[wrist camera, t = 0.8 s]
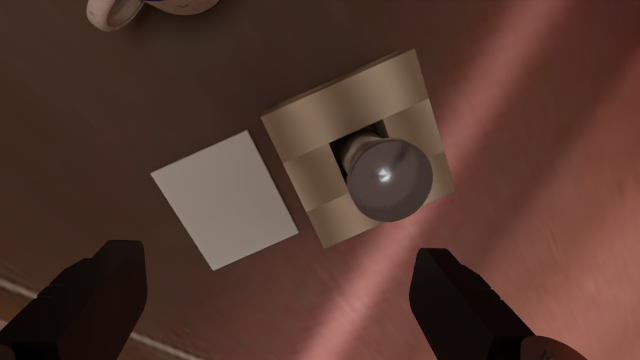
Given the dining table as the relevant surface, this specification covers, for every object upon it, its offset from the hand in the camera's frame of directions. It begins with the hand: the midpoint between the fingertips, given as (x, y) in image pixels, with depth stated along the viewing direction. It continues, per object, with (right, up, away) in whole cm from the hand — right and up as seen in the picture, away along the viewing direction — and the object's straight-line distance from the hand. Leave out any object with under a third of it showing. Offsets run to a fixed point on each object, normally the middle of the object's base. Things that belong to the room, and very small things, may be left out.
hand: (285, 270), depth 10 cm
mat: (-8, 0, +24) cm, 26 cm away
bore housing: (+5, +6, +24) cm, 25 cm away
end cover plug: (+5, +6, +24) cm, 25 cm away
